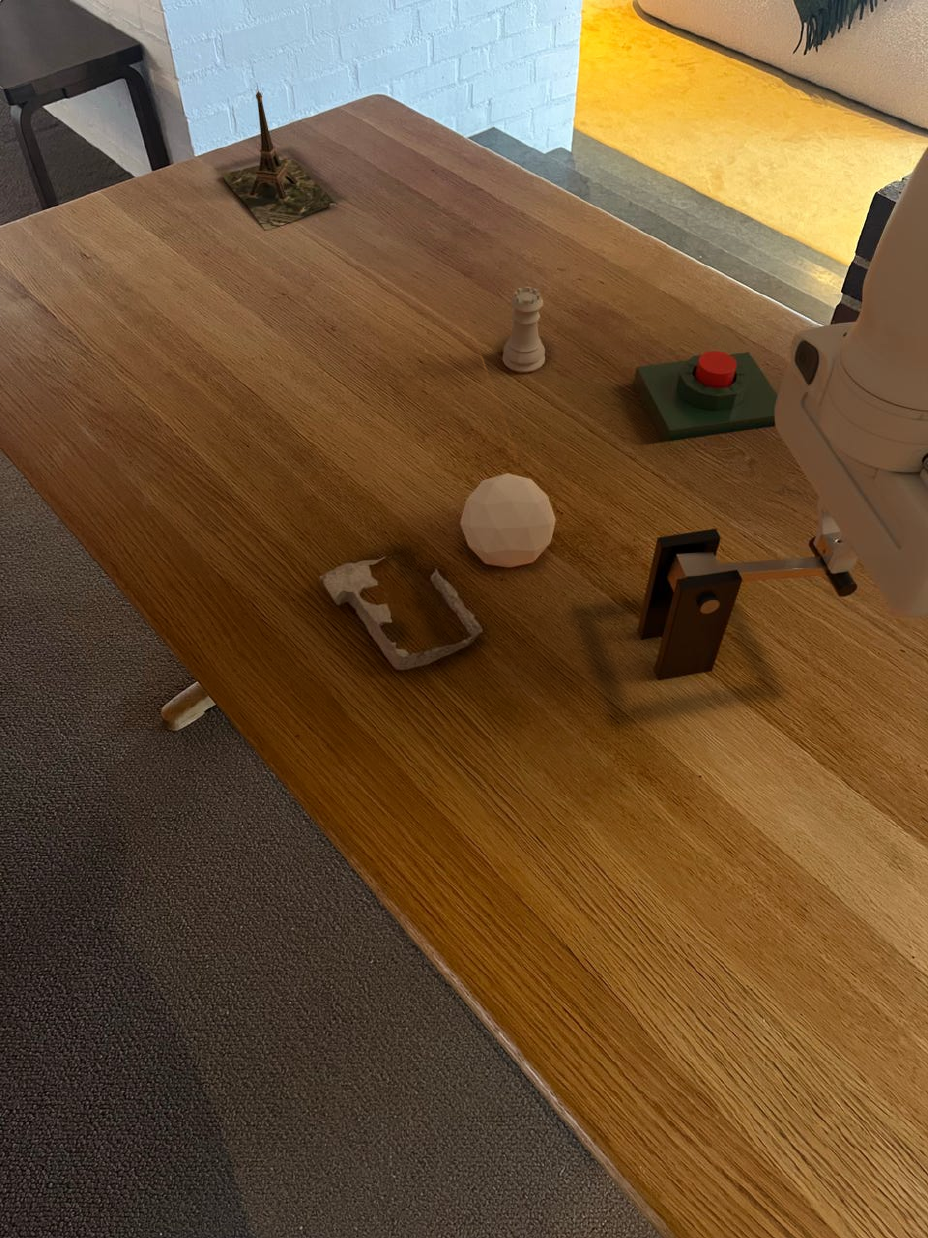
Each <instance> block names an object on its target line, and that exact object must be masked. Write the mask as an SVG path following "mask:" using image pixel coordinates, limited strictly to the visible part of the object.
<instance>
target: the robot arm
mask: <svg viewBox="0 0 928 1238" xmlns="http://www.w3.org/2000/svg"><path fill="white" fill-rule="evenodd" d="M861 301H862V304H861V309H860V312H859V315H858V317H857V319H856V320H855V321H851V322H850V321H849V322H841V323H833V324H827V325H820V326H815V327H810V328H805V329H802V330H797V331H795V333H794V335H793V337H792V341H791V344H790V349H789V356H790V359H791V360H790V361H789V363H788V364H787V366H786V368H785V371H784V373H783V376H782V379H781V383H780V386H779V389H778V392H777V395H778V396H777V400H776V404H775V409H774V416H775V425H776V426H775V430H776V432H777V433H778V435H779V436H780V438H781V439H782V441H783V443H784V444H785V446H786V447H787V449H788V451H789V452H790V453H791V454H790V455H792V457H793V458H794V460H795V461H796V463H797V464H798V466H799V468H800V470H801V471H802V472H803V475H804V476H805V478H806V479H807V481H808V482H809V483H810V485H811V487H812V488H813V490H814V491H815V493H816V495H817V496H818V499H817V500H816V509H817V510H816V511H817V529H818V530H817V532H816V535H815V536H816V537H815V536H814V537H815V540H814V546H815V547H816V549H817V550H818V551H819V553H820V555H821V556H822V558H823V560H824V562H825V563H826V565H827V567H828V569H829V570H830V572H831V573H833V574H835V573H841V572H847V571H849V572H850V571H851V570H853V569H854V568H855V566H856V564H857V561H858V560H859V562H860V564H861V565H862V567H863V568H864V570H865V572H866V573H867V575H868V576H869V578H870V579H871V581H872V582H873V584H874V586H875V587H876V589H877V590H878V592H879V593H880V595H881V596H882V598H883V600H884V601H885V603H886V604H887V606H888V607H889V609H890V611H891V612H892V614H894V615H895V616H896V617H898V618H907V619H909V618H924V617H928V146H927V147H926V149H925V150H924V152H923V153H922V155H921V157H920V159H919V160H918V162H917V163H916V165H915V167H914V168H913V170H912V172H911V173H910V175H909V177H908V179H907V181H906V183H905V185H904V186H903V188H902V191H901V193H900V195H899V197H898V199H897V201H896V203H895V204H894V207H893V209H892V211H891V213H890V215H889V218H888V219H887V222H886V224H885V227H884V229H883V231H882V233H881V236H880V238H879V241H878V243H877V245H876V248H875V250H874V254H873V256H872V259H871V261H870V263H869V267H868V269H867V271H866V274H865V278H864V280H863V285H862V300H861Z"/></svg>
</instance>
